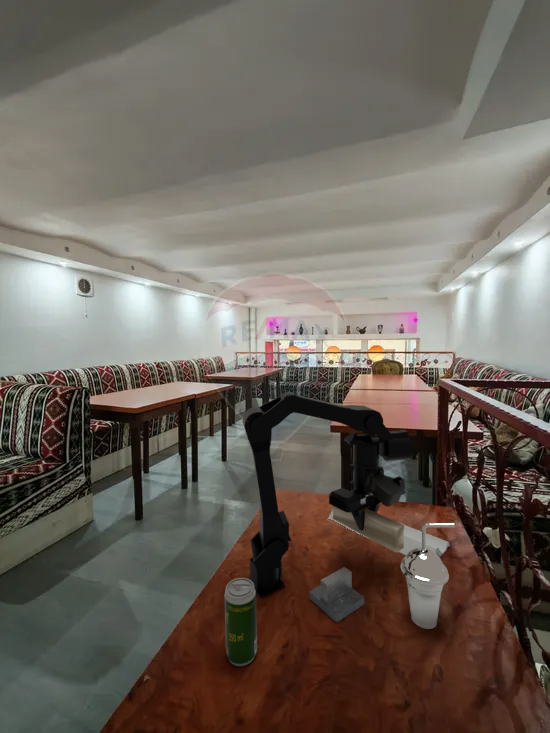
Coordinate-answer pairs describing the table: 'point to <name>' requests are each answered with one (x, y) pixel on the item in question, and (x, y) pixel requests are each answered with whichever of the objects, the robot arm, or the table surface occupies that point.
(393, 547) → the batten
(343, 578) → the fulcrum
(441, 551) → the crown molding
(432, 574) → the cup with straw
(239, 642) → the beer can
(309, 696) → the table surface
